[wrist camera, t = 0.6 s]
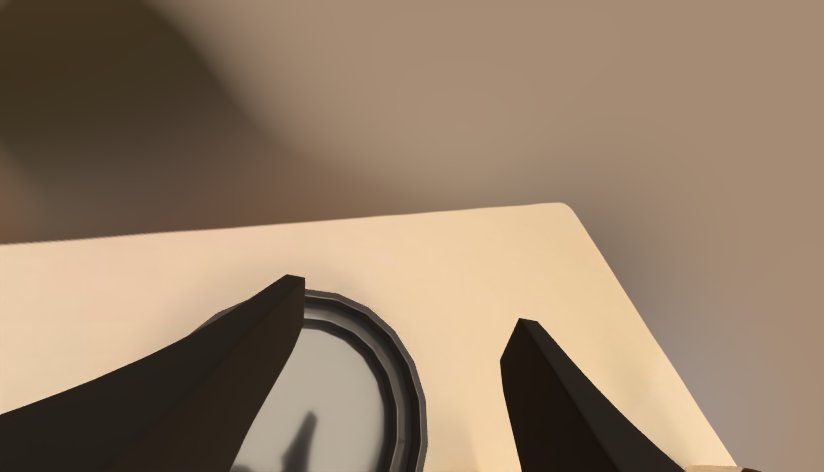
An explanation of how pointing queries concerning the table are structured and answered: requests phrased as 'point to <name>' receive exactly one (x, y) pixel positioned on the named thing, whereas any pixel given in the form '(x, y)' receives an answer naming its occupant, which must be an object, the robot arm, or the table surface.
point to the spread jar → (717, 469)
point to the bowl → (339, 398)
